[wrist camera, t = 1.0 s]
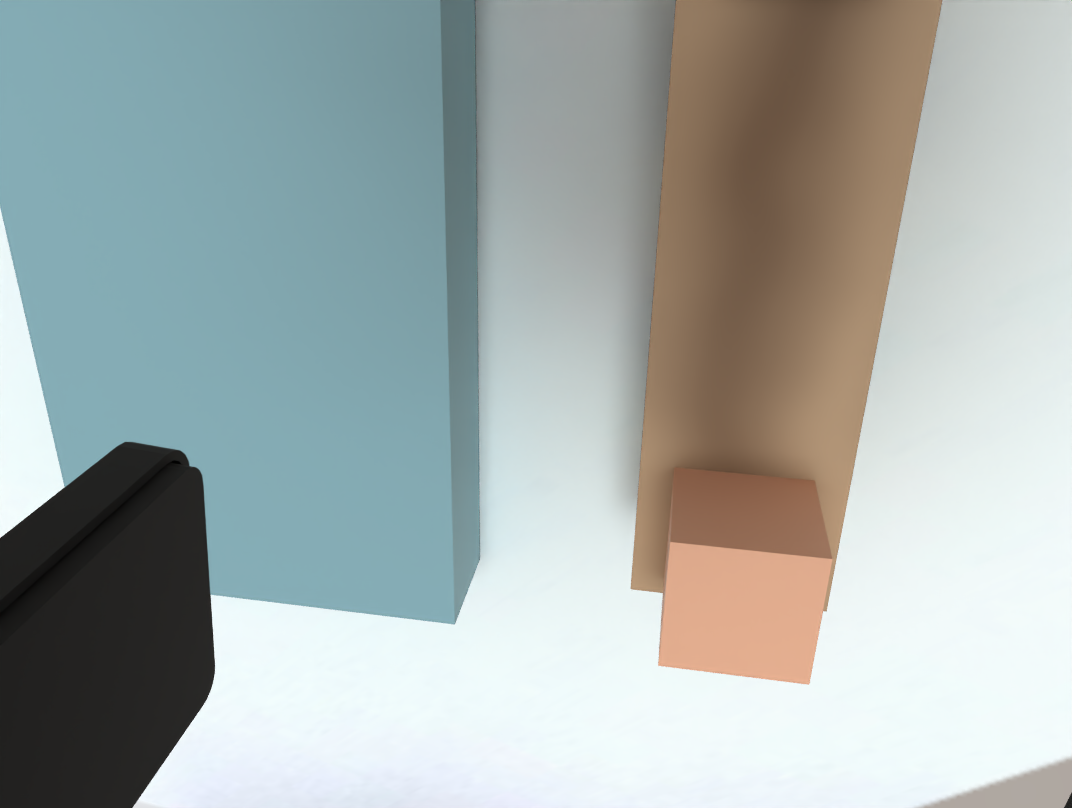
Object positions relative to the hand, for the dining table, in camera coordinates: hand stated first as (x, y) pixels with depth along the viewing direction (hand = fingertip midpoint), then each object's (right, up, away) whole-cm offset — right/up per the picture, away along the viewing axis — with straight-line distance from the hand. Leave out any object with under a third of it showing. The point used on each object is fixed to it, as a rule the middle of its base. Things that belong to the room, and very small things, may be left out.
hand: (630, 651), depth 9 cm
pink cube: (+5, -1, +18) cm, 19 cm away
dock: (-10, +10, +21) cm, 25 cm away
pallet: (+6, +8, +19) cm, 22 cm away
